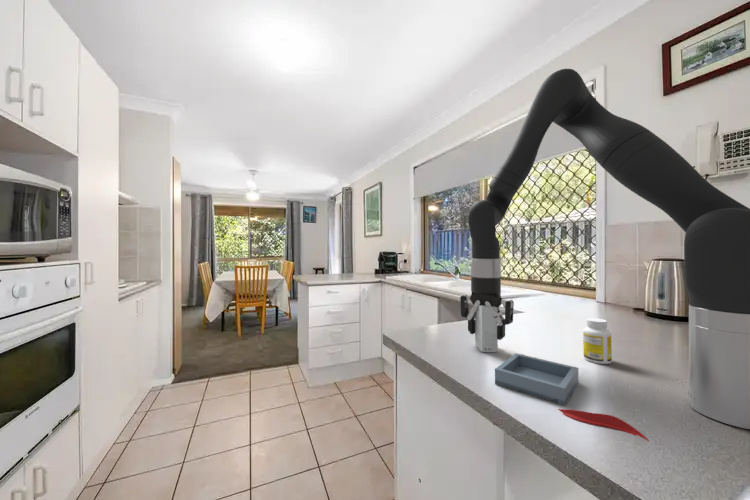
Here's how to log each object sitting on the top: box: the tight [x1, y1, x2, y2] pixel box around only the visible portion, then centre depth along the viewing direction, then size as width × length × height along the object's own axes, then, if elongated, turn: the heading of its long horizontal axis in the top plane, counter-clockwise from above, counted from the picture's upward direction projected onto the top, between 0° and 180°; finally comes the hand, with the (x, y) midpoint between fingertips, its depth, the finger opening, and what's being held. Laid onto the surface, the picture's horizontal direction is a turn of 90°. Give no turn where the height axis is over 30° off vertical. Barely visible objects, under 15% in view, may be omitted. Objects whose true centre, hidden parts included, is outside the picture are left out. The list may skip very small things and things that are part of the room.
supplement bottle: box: [582, 317, 613, 365], centre depth 71 cm, size 5×5×10 cm
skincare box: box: [474, 305, 499, 353], centre depth 79 cm, size 6×4×12 cm
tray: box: [494, 353, 579, 407], centre depth 59 cm, size 12×12×3 cm
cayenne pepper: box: [557, 408, 651, 443], centre depth 46 cm, size 12×5×2 cm, turn 35°
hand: (485, 336), depth 80 cm, fingers open, 7 cm apart
